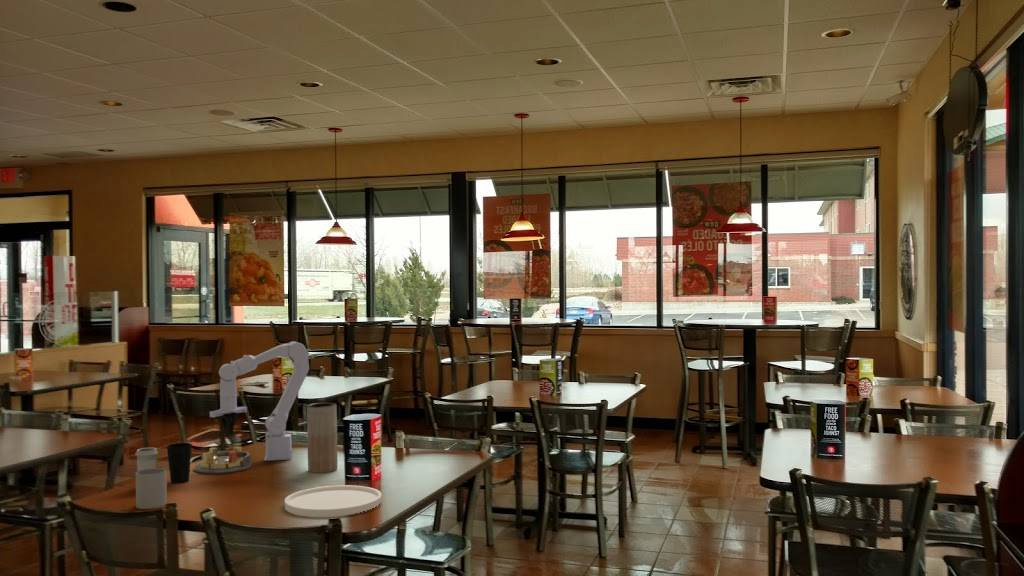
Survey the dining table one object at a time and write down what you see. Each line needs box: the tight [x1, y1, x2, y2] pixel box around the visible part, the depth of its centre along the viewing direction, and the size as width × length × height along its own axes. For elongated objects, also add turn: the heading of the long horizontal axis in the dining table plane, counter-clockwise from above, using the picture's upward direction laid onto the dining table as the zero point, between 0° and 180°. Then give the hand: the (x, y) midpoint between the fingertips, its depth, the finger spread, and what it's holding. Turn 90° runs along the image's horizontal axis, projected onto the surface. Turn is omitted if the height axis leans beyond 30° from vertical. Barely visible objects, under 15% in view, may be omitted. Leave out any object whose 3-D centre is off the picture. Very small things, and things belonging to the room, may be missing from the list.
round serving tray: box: [194, 450, 252, 475], centre depth 297 cm, size 19×19×4 cm
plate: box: [284, 484, 383, 518], centre depth 247 cm, size 28×28×2 cm
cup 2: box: [135, 467, 168, 510], centre depth 248 cm, size 8×8×10 cm
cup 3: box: [166, 442, 193, 484], centre depth 278 cm, size 8×8×12 cm
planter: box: [306, 402, 338, 474], centre depth 292 cm, size 10×10×23 cm
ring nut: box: [199, 446, 243, 469], centre depth 297 cm, size 15×15×5 cm
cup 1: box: [135, 447, 159, 471], centre depth 271 cm, size 7×7×12 cm
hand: (229, 434), depth 305 cm, fingers closed
